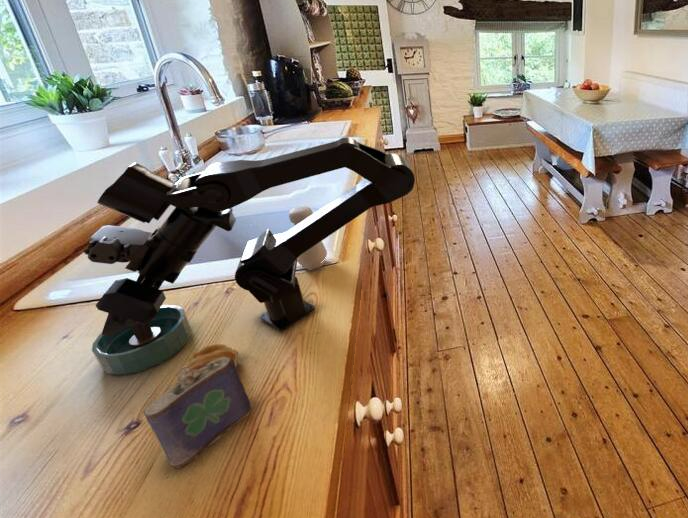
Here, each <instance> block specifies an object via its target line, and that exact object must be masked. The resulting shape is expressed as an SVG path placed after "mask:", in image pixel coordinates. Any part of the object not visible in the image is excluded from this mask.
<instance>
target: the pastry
mask: <svg viewBox="0 0 688 518" xmlns="http://www.w3.org/2000/svg"><path fill="white" fill-rule="evenodd" d="M220 357H229V358H231V359H233V360H234V363H235V366H236V367H237V366H238V358H239V351H237V350H236V349H234V348H232V347H230V346H227V345H225V344H223V343H217V344H215V343H214V344H211V345H207V346H204V347H202V348H201V349H200V350H198V351H195V352H194V353H193V354H192V356H191V357H190V358H188V362H187V364H186V366H187V367H186V368H184V369H183V371H184V370H185V369H187V368H189V369H188V370H189V371H191V370H199V369H200V368H202V367H204V366H206V365H207V364H209V363H210V362H212V361H215V360H217V359H219V358H220Z"/></svg>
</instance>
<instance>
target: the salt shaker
mask: <svg viewBox="0 0 688 518" xmlns="http://www.w3.org/2000/svg"><path fill="white" fill-rule="evenodd" d="M312 214H314V211H313V210H312V208H311V207H310V206H308V205H301V206H296V207H294V208H292V209H291V210H290V211H289V212H288V219H289V221H290V223H292V224H294V225H293V227H294V226H296V225H297V224H299V223H300V222H302V221H303V220H305V219H306V218H308V217H309V216H311V215H312ZM327 256H328V251H327V249H326V247H325V245H324V242H323V240H322V241H321V242H319V243H318V244H316V245H315V246H313V247H312V248H310V249H309V250H307V251H306V252H305V253H303V254H302V255H300V256H299V257H298V258H297V264H299V265H300V266H301V265H302V266H301V267H302V268H303V269H304V270H309V271H312V270H313V271H314V270H316V269H318V268H321V267H322V266H324V264H325V262H326V259H327ZM325 257H326V258H325ZM324 259H325V260H324ZM323 260H324V261H323ZM322 261H323V262H322ZM321 262H322V263H321Z"/></svg>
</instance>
